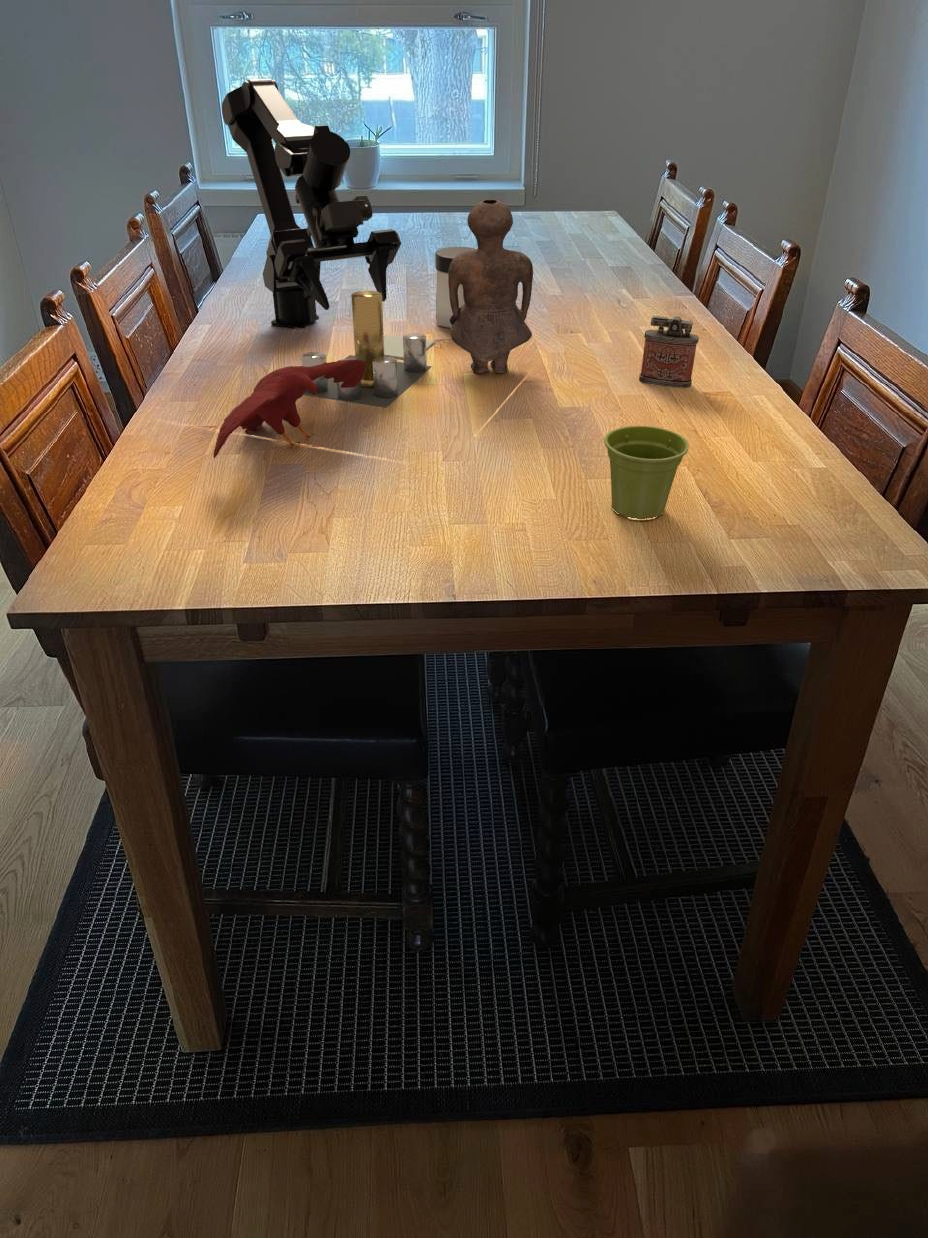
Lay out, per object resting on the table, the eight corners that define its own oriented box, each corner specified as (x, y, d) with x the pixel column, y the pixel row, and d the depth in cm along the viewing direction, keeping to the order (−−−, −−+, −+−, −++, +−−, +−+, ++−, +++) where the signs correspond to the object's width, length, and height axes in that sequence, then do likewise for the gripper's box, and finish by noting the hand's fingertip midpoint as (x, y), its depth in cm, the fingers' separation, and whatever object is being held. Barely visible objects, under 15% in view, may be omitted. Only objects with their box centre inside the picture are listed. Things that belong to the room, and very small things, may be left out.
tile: (363, 355, 150) (363, 351, 150) (385, 338, 157) (385, 334, 156) (413, 362, 147) (413, 358, 147) (434, 344, 154) (434, 341, 154)
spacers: (297, 393, 135) (294, 360, 133) (349, 354, 149) (347, 324, 146) (384, 406, 132) (383, 373, 129) (430, 366, 145) (429, 334, 142)
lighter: (692, 382, 142) (703, 317, 136) (689, 389, 139) (700, 323, 133) (640, 375, 144) (648, 311, 138) (636, 382, 141) (645, 317, 135)
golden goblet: (346, 385, 138) (340, 298, 131) (362, 373, 142) (357, 287, 135) (380, 390, 137) (376, 302, 129) (395, 377, 141) (392, 291, 133)
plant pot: (590, 492, 111) (596, 425, 106) (665, 489, 112) (676, 423, 107) (606, 530, 104) (614, 460, 99) (687, 527, 105) (699, 458, 100)
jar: (449, 332, 160) (449, 260, 153) (425, 319, 165) (424, 250, 158) (491, 323, 164) (493, 253, 157) (466, 311, 169) (467, 243, 162)
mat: (297, 395, 136) (297, 393, 135) (349, 356, 149) (349, 354, 149) (386, 409, 132) (386, 407, 131) (431, 368, 145) (431, 366, 145)
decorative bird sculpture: (206, 509, 116) (256, 447, 105) (159, 451, 115) (204, 383, 104) (344, 432, 136) (398, 373, 125) (305, 381, 135) (355, 318, 124)
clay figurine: (527, 359, 149) (535, 193, 135) (532, 381, 141) (542, 207, 126) (447, 359, 149) (447, 192, 134) (448, 382, 141) (448, 207, 126)
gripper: (271, 180, 127) (307, 282, 125) (393, 170, 134) (429, 265, 133) (260, 229, 137) (293, 323, 135) (374, 217, 144) (406, 306, 143)
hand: (356, 304), depth 136 cm, fingers open, 9 cm apart
